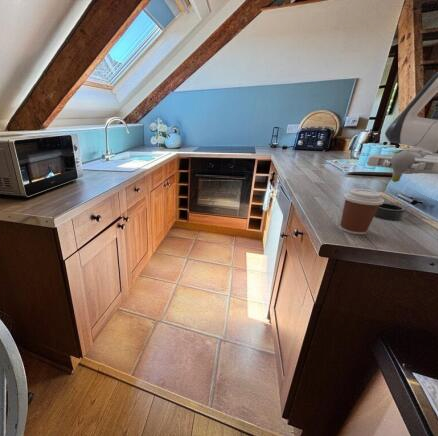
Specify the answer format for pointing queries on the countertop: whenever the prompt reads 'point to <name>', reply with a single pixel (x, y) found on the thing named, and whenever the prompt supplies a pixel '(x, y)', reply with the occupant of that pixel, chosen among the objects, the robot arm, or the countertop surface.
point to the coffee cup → (359, 210)
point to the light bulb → (401, 164)
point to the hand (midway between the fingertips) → (400, 165)
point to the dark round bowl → (389, 212)
